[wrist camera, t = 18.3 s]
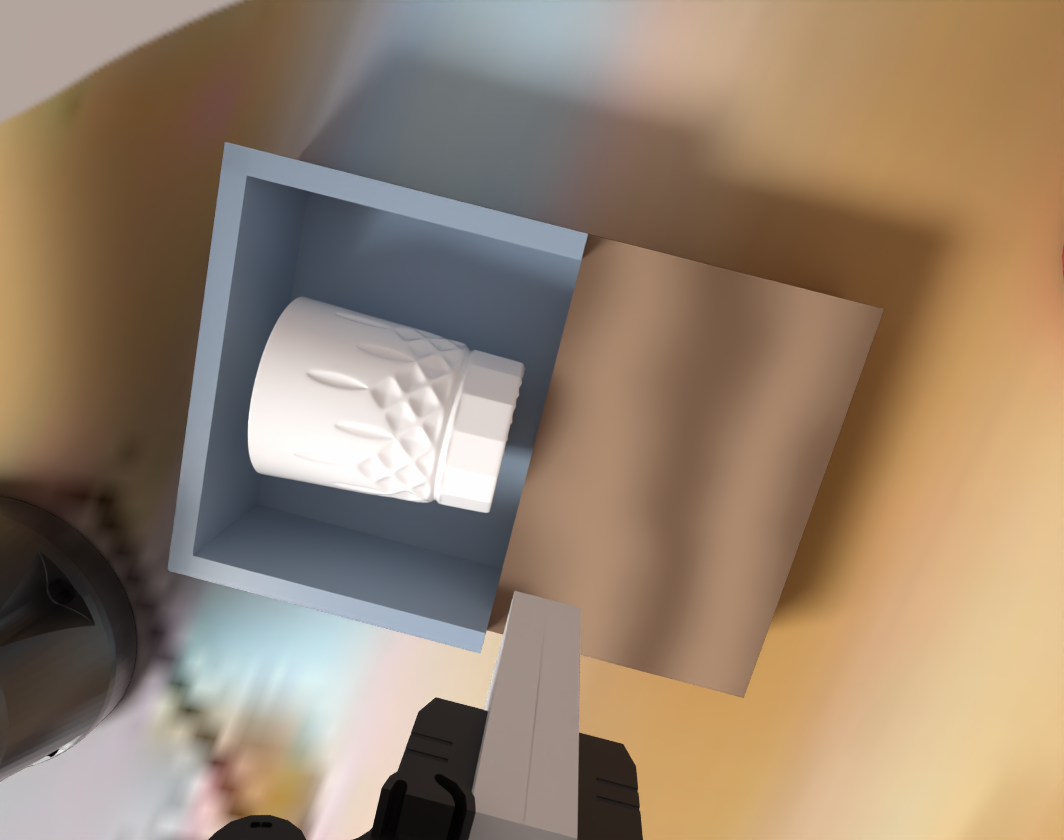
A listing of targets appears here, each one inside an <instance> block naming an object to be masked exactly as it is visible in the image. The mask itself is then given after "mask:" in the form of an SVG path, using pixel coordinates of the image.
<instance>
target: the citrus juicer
mask: <svg viewBox="0 0 1064 840" xmlns="http://www.w3.org/2000/svg"><path fill="white" fill-rule="evenodd" d="M1062 261H1063V274H1064V248H1063V255H1062Z"/></svg>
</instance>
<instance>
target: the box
mask: <svg viewBox="0 0 1064 840" xmlns="http://www.w3.org/2000/svg"><path fill="white" fill-rule="evenodd" d="M587 237H588V234H587V233H583V232H579V231H575V230H571V229H567V228H563V227H559V226H555V225H551V224H548V223H544V222H540V221H536V220H532V219H528V218H524V217H520V216H516V215H512V214H508V213H504V212H500V211H496V210H492V209H488V208H484V207H481V206H477V205H473V204H469V203H465V202H461V201H457V200H453V199H449V198H445V197H441V196H437V195H433V194H429V193H425V192H421V191H417V190H414V189H410V188H406V187H402V186H398V185H394V184H390V183H386V182H382V181H378V180H374V179H370V178H366V177H362V176H358V175H354V174H350V173H347V172H343V171H339V170H335V169H331V168H327V167H323V166H319V165H315V164H311V163H307V162H303V161H299V160H295V159H291V158H287V157H283V156H280V155H276V154H272V153H268V152H264V151H260V150H256V149H252V148H248V147H244V146H240V145H236V144H232V143H228V142H225V145H224V152H223V160H222V167H221V174H220V182H219V189H218V197H217V204H216V212H215V219H214V227H213V234H212V241H211V249H210V256H209V264H208V271H207V279H206V286H205V293H204V301H203V308H202V316H201V323H200V331H199V338H198V345H197V353H196V360H195V368H194V375H193V383H192V390H191V397H190V405H189V412H188V420H187V427H186V435H185V442H184V449H183V457H182V464H181V472H180V479H179V487H178V494H177V501H176V509H175V516H174V524H173V531H172V539H171V546H170V554H169V561H168V568H167V571H171V572H175V573H178V574H182V575H186V576H190V577H194V578H197V579H201V580H205V581H209V582H212V583H216V584H220V585H224V586H228V587H231V588H235V589H239V590H243V591H246V592H250V593H254V594H258V595H261V596H265V597H269V598H273V599H277V600H280V601H284V602H288V603H292V604H295V605H299V606H303V607H307V608H311V609H314V610H318V611H322V612H326V613H329V614H333V615H337V616H341V617H344V618H348V619H352V620H356V621H360V622H363V623H367V624H371V625H375V626H378V627H382V628H386V629H390V630H394V631H397V632H401V633H405V634H409V635H412V636H416V637H420V638H424V639H427V640H431V641H435V642H439V643H443V644H446V645H450V646H454V647H458V648H461V649H465V650H469V651H473V652H477V653H481V649H482V645H483V642H484V638H485V634H486V631H487V627H488V623H489V619H490V615H491V611H492V607H493V603H494V600H495V596H496V592H497V588H498V584H499V580H500V576H501V572H502V568H503V564H504V561H505V557H506V553H507V549H508V545H509V541H510V537H511V533H512V529H513V526H514V522H515V518H516V514H517V510H518V506H519V502H520V498H521V494H522V490H523V487H524V483H525V479H526V475H527V471H528V467H529V463H530V459H531V455H532V452H533V448H534V444H535V440H536V436H537V432H538V428H539V424H540V420H541V416H542V413H543V409H544V405H545V401H546V397H547V393H548V389H549V385H550V381H551V378H552V374H553V370H554V366H555V362H556V358H557V354H558V350H559V346H560V342H561V339H562V335H563V331H564V327H565V323H566V319H567V315H568V311H569V307H570V304H571V300H572V296H573V292H574V288H575V284H576V280H577V276H578V272H579V268H580V265H581V261H582V257H583V253H584V249H585V245H586V241H587ZM302 296H304V297H308V298H312V299H315V300H318V301H322V302H325V303H329V304H332V305H336V306H339V307H343V308H346V309H350V310H353V311H357V312H360V313H364V314H367V315H371V316H374V317H378V318H381V319H385V320H388V321H392V322H395V323H399V324H402V325H406V326H409V327H413V328H416V329H420V330H423V331H427V332H430V333H433V334H436V335H438V336H441V337H443V338H446V339H449V340H454V341H458V342H462V343H464V344H466V345H467V346H468V347H469V349H470V350H471V351H472V350H475V349H476V350H478V351H482V352H485V353H489V354H492V355H496V356H500V357H503V358H507V359H510V360H514V361H518V362H521V363H523V364H524V367H525V371H524V375H523V378H522V384H521V386H520V388H519V396H518V398H517V400H516V408H515V410H514V412H513V417H512V421H513V423H512V424H511V425H510V430H509V434H508V441H507V442H506V447H505V450H504V456H503V459H502V463H501V467H500V472H499V475H498V480H497V485H496V488H495V492H494V496H493V501H492V505H491V509H490V512H488V513H484V512H478V511H473V510H468V509H463V508H458V507H453V506H447V505H443V504H439V503H438V502H437V501H436V500H434V501H432V502H428V503H421V502H413V501H407V500H402V499H398V498H394V497H385V496H378V495H371V494H365V493H359V492H354V491H349V490H343V489H338V488H333V487H328V486H322V485H317V484H312V483H307V482H301V481H296V480H291V479H285V478H280V477H274V476H269V475H263V474H260V473H258V472H257V471H256V470H255V469H254V467H253V465H252V463H251V460H250V455H249V449H248V419H249V410H250V403H251V397H252V392H253V387H254V383H255V378H256V374H257V371H258V367H259V364H260V361H261V358H262V355H263V352H264V349H265V346H266V344H267V341H268V339H269V336H270V334H271V332H272V330H273V328H274V326H275V324H276V322H277V320H278V319H279V317H280V316H281V314H282V313H283V311H284V310H285V308H286V307H287V306H288V305H289V304H290V303H291V302H292V301H293V300H295V299H296V298H298V297H302Z"/></svg>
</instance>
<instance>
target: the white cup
mask: <svg viewBox="0 0 1064 840" xmlns="http://www.w3.org/2000/svg"><path fill="white" fill-rule="evenodd" d="M524 371H525V367H524V364H523V363H521V362H518V361H514V360H510V359H507V358H503V357H500V356H496V355H492V354H489V353H485V352H482V351H478V350H476V349H475V350H472V351H471V350H470V349H469V347H468V346H467V345H466V344H464V343H462V342H458V341H454V340H449V339H446V338H443V337H441V336H438V335H436V334H433V333H430V332H427V331H423V330H420V329H416V328H413V327H409V326H406V325H402V324H399V323H395V322H392V321H388V320H385V319H381V318H378V317H374V316H371V315H367V314H364V313H360V312H357V311H353V310H350V309H346V308H343V307H339V306H336V305H332V304H329V303H325V302H322V301H318V300H315V299H312V298H308V297H304V296H302V297H298V298H296V299H295V300H293V301H292V302H291V303H290V304H289V305H288V306H287V307H286V308H285V310H284V311H283V313H282V314H281V316H280V317H279V319H278V320H277V322H276V324H275V326H274V328H273V330H272V332H271V334H270V336H269V339H268V341H267V344H266V346H265V349H264V352H263V355H262V358H261V361H260V364H259V367H258V371H257V374H256V378H255V383H254V387H253V392H252V397H251V403H250V410H249V419H248V449H249V455H250V460H251V463H252V465H253V467H254V469H255V470H256V471H257V472H258V473H260V474H263V475H269V476H274V477H280V478H285V479H291V480H296V481H301V482H307V483H312V484H317V485H322V486H328V487H333V488H338V489H343V490H349V491H354V492H359V493H365V494H371V495H378V496H385V497H394V498H398V499H402V500H407V501H413V502H421V503H428V502H432V501H434V500H436V501H437V502H438V503H439V504H443V505H447V506H453V507H458V508H463V509H468V510H473V511H478V512H484V513H488V512H490V509H491V505H492V501H493V496H494V492H495V488H496V485H497V480H498V475H499V472H500V467H501V463H502V459H503V456H504V450H505V447H506V442H507V441H508V434H509V430H510V425H511V424H512V423H513V421H512V417H513V412H514V410H515V408H516V400H517V398H518V396H519V388H520V386H521V384H522V378H523V375H524Z"/></svg>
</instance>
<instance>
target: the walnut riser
mask: <svg viewBox="0 0 1064 840" xmlns="http://www.w3.org/2000/svg"><path fill="white" fill-rule="evenodd" d="M883 311H884V309H882V308H878V307H874V306H870V305H866V304H862V303H858V302H854V301H850V300H846V299H843V298H839V297H835V296H831V295H827V294H823V293H819V292H815V291H811V290H807V289H803V288H799V287H795V286H791V285H787V284H783V283H779V282H776V281H772V280H768V279H764V278H760V277H756V276H752V275H748V274H744V273H740V272H736V271H732V270H728V269H724V268H720V267H716V266H712V265H709V264H705V263H701V262H697V261H693V260H689V259H685V258H681V257H677V256H673V255H669V254H665V253H661V252H657V251H653V250H649V249H645V248H642V247H638V246H634V245H630V244H626V243H622V242H618V241H614V240H610V239H606V238H602V237H598V236H594V235H590V234H588V237H587V241H586V245H585V249H584V253H583V257H582V261H581V265H580V268H579V272H578V276H577V280H576V284H575V288H574V292H573V296H572V300H571V304H570V307H569V311H568V315H567V319H566V323H565V327H564V331H563V335H562V339H561V342H560V346H559V350H558V354H557V358H556V362H555V366H554V370H553V374H552V378H551V381H550V385H549V389H548V393H547V397H546V401H545V405H544V409H543V413H542V416H541V420H540V424H539V428H538V432H537V436H536V440H535V444H534V448H533V452H532V455H531V459H530V463H529V467H528V471H527V475H526V479H525V483H524V487H523V490H522V494H521V498H520V502H519V506H518V510H517V514H516V518H515V522H514V526H513V529H512V533H511V537H510V541H509V545H508V549H507V553H506V557H505V561H504V564H503V568H502V572H501V576H500V580H499V584H498V588H497V592H496V596H495V600H494V603H493V607H492V611H491V615H490V619H489V623H488V627H487V630H488V631H492V632H496V633H500V634H503V633H504V629H505V625H506V622H507V618H508V614H509V610H510V606H511V603H512V599H513V595H514V591H518V592H522V593H526V594H529V595H533V596H537V597H541V598H545V599H549V600H553V601H557V602H560V603H564V604H568V605H572V606H576V607H580V608H581V627H580V655H583V656H587V657H591V658H594V659H598V660H602V661H606V662H609V663H613V664H617V665H621V666H625V667H628V668H632V669H636V670H640V671H643V672H647V673H651V674H655V675H659V676H662V677H666V678H670V679H674V680H678V681H681V682H685V683H689V684H693V685H696V686H700V687H704V688H708V689H712V690H715V691H719V692H723V693H727V694H730V695H734V696H738V697H742V698H744V696H745V693H746V690H747V687H748V684H749V682H750V679H751V676H752V673H753V671H754V668H755V665H756V662H757V660H758V657H759V654H760V651H761V649H762V646H763V643H764V640H765V637H766V635H767V632H768V629H769V626H770V624H771V621H772V618H773V615H774V613H775V610H776V607H777V604H778V602H779V599H780V596H781V593H782V590H783V588H784V585H785V582H786V579H787V577H788V574H789V571H790V568H791V566H792V563H793V560H794V557H795V555H796V552H797V549H798V546H799V543H800V541H801V538H802V535H803V532H804V530H805V527H806V524H807V521H808V519H809V516H810V513H811V510H812V508H813V505H814V502H815V499H816V497H817V494H818V491H819V488H820V485H821V483H822V480H823V477H824V474H825V472H826V469H827V466H828V463H829V461H830V458H831V455H832V452H833V450H834V447H835V444H836V441H837V438H838V436H839V433H840V430H841V427H842V425H843V422H844V419H845V416H846V414H847V411H848V408H849V405H850V403H851V400H852V397H853V394H854V391H855V389H856V386H857V383H858V380H859V378H860V375H861V372H862V369H863V367H864V364H865V361H866V358H867V356H868V353H869V350H870V347H871V344H872V342H873V339H874V336H875V333H876V331H877V328H878V325H879V322H880V320H881V317H882V314H883Z"/></svg>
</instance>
